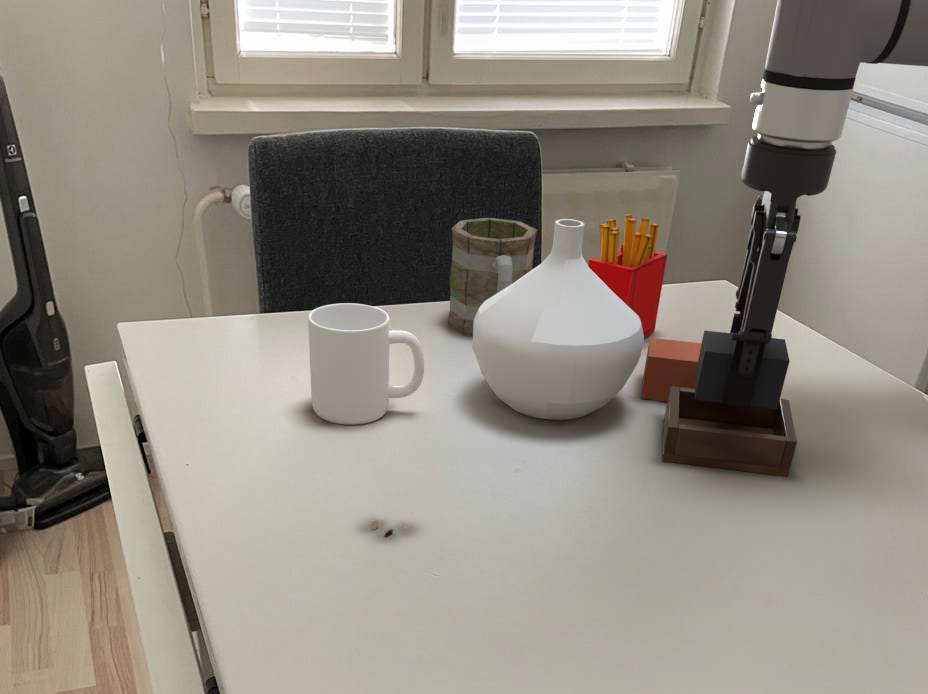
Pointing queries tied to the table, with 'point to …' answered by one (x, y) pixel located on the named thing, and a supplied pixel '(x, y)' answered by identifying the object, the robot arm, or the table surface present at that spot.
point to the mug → (485, 264)
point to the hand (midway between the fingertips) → (734, 390)
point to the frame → (728, 434)
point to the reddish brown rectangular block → (669, 367)
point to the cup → (355, 362)
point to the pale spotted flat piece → (374, 526)
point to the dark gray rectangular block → (717, 365)
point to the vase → (557, 336)
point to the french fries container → (632, 268)
